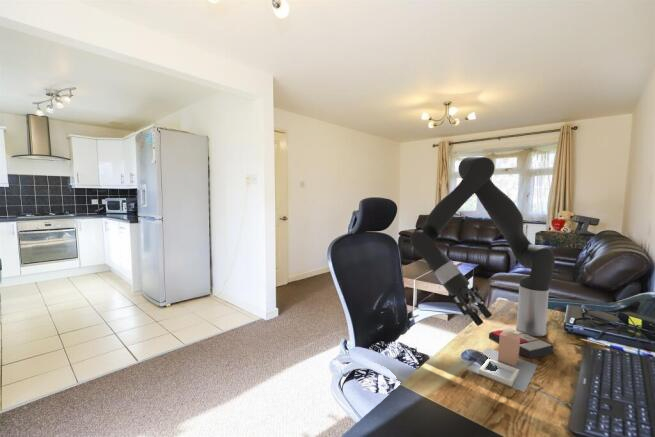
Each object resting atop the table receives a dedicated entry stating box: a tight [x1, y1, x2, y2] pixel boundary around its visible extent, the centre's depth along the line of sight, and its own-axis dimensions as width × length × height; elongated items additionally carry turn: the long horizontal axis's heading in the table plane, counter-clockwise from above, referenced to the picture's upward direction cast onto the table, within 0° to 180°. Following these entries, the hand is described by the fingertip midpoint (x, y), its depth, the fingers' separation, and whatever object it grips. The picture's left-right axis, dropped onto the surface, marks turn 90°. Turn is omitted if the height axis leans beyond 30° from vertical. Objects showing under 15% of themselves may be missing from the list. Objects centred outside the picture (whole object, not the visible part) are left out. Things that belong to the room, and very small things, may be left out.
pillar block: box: [498, 329, 520, 366], centre depth 91 cm, size 4×4×8 cm
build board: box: [467, 347, 539, 393], centre depth 88 cm, size 18×14×2 cm
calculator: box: [488, 327, 554, 359], centre depth 102 cm, size 11×4×15 cm
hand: (485, 320), depth 96 cm, fingers open, 8 cm apart
